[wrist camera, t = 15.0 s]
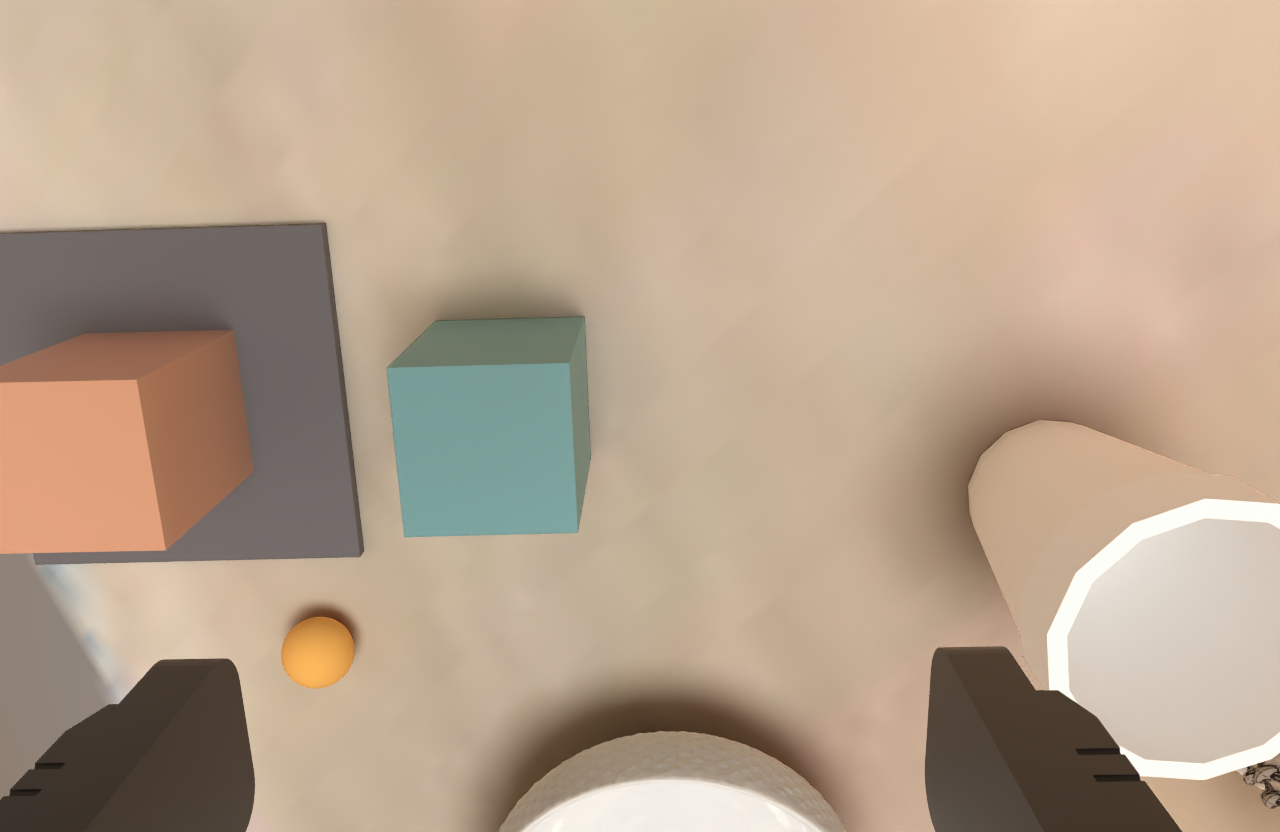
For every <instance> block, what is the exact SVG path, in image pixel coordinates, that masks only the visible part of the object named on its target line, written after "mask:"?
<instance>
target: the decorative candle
mask: <svg viewBox="0 0 1280 832" xmlns="http://www.w3.org/2000/svg"><path fill="white" fill-rule="evenodd" d="M1236 771H1237V772H1238V773H1240V774H1241V775H1242V776H1243V780H1244V782H1245V783H1246V784H1248V785H1256V786H1257V787H1258V788H1260V789H1262V790H1264V791H1263V792H1262V793H1261V795H1260V796H1261V799H1262V801H1263V803H1264V804H1265V806H1267V807H1268V808H1271V809H1273V808H1276V807H1277V806H1280V753H1279V754H1277V755H1276V756H1275V757H1274V758H1272V759H1270V760H1267V761H1264V762H1260V763H1257V764H1254V765H1251V766H1248V767H1244V768H1241V769H1238V770H1236Z"/></svg>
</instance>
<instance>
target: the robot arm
mask: <svg viewBox="0 0 1280 832" xmlns="http://www.w3.org/2000/svg"><path fill="white" fill-rule="evenodd" d="M925 785H926V794H927V801H928V807H929V811H930V816H931V819H932V823H933V826H934V828H935V831H936V832H1182V831H1181V829H1180V828H1179V827H1178V825H1177V824H1176V823H1175V821H1174V820H1173V819H1172V817H1171V816H1170V815H1169V813H1168V812H1167V811H1166V809H1165V808H1164V807H1163V805H1162V804H1161V803H1160V801H1159V800H1158V798H1157V797H1156V796H1155V794H1154V793H1153V792H1152V790H1151V789H1150V788H1149V786H1148V785H1147V784H1146V782H1145V781H1140V774H1139V773H1138V772H1137V770H1136V769H1135V767H1134V766H1133V765H1132V763H1131V762H1130V761H1129V759H1128V758H1127V757H1126V755H1125V754H1121V753H1120V747H1119V746H1118V745H1117V743H1116V742H1115V741H1114V739H1113V738H1112V736H1111V735H1110V734H1109V732H1108V731H1107V730H1106V728H1105V727H1104V726H1103V724H1102V723H1101V722H1100V720H1099V719H1098V718H1097V716H1095V715H1094V714H1092V713H1091V712H1089V711H1088V710H1086V709H1085V708H1083V707H1082V706H1080V705H1079V704H1078V703H1076V702H1075V701H1073V700H1072V699H1070V698H1069V697H1067V696H1066V695H1064V694H1063V693H1061V692H1060V691H1058V690H1037V691H1036V690H1035V689H1034V687H1033V686H1032V684H1031V683H1030V681H1029V680H1028V678H1027V677H1026V675H1025V674H1024V672H1023V671H1022V669H1021V668H1020V666H1019V665H1018V663H1017V662H1016V660H1015V659H1014V657H1013V656H1012V654H1011V653H1010V651H1009V650H1008V649H1007V648H1005V647H1002V646H1000V647H944V648H937V649H936V651H935V653H934V655H933V659H932V666H931V679H930V695H929V710H928V726H927V742H926V757H925ZM254 793H255V777H254V769H253V763H252V756H251V750H250V743H249V737H248V731H247V724H246V718H245V712H244V705H243V699H242V692H241V686H240V680H239V675H238V672H237V669H236V667H235V665H234V664H233V662H232V661H231V660H229V659H173V660H161V661H159V662H157V663H156V664H155V665H154V666H153V667H152V668H151V669H150V670H149V671H148V672H147V673H146V674H145V675H144V677H143V678H142V679H141V680H140V681H139V682H138V683H137V684H136V685H135V687H134V688H133V689H132V690H131V691H130V692H129V693H128V694H127V695H126V697H125V698H124V699H123V700H122V701H121V702H120V703H119V704H109V705H107V706H106V707H104V708H103V709H101V710H99V711H98V712H96V713H94V714H93V715H91V716H90V717H88V718H86V719H85V720H83V721H82V722H80V723H78V724H77V725H75V726H73V727H72V728H70V729H69V730H67V731H65V733H64V734H63V735H62V736H61V737H60V738H59V739H58V740H57V741H56V742H55V743H54V744H53V745H52V746H51V747H50V748H49V749H48V750H47V751H46V752H45V754H43V755H42V757H41V758H40V759H39V760H38V761H37V762H36V763H35V769H34V770H28V771H27V773H25V775H24V776H23V777H22V778H21V779H20V780H19V781H18V782H17V783H16V784H15V785H14V786H13V787H12V788H11V789H10V795H9V796H4V797H3V798H2V799H1V800H0V832H246V829H247V827H248V824H249V821H250V817H251V813H252V809H253V803H254Z"/></svg>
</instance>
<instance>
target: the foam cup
mask: <svg viewBox="0 0 1280 832" xmlns="http://www.w3.org/2000/svg"><path fill="white" fill-rule="evenodd" d="M968 495H969V510H970V517H971V519H972V524H973V526H974V528H975V531H976V533H977V535H978V538H979V540H980V542H981V545H982V547H983V549H984V552H985V554H986V557H987V559H988V561H989V564H990V566H991V568H992V571H993V573H994V575H995V578H996V580H997V582H998V585H999V587H1000V589H1001V592H1002V594H1003V596H1004V599H1005V601H1006V603H1007V606H1008V608H1009V611H1010V613H1011V615H1012V618H1013V620H1014V622H1015V625H1016V627H1017V629H1018V632H1019V634H1020V636H1021V639H1022V657H1023V658H1024V660H1025V661H1026V663H1027V665H1028V666H1029V668H1030V669H1031V671H1032V672H1033V674H1034V675H1035V677H1036V678H1037V680H1038V681H1039V683H1040V685H1041V686H1042V688H1043V689H1044V690H1058V691H1060V692H1061V693H1063V694H1064V695H1066V696H1067V697H1069V698H1070V699H1072V700H1073V701H1075V702H1076V703H1078V704H1079V705H1080V706H1082V707H1083V708H1085V709H1086V710H1088V711H1089V712H1091V713H1092V714H1094V715H1095V716H1097V718H1098V719H1099V720H1100V722H1101V723H1102V724H1103V726H1104V727H1105V728H1106V730H1107V731H1108V732H1109V734H1110V735H1111V736H1112V738H1113V739H1114V741H1115V742H1116V743H1117V745H1118V746H1119V747H1120V753H1121V754H1125V755H1126V757H1127V758H1128V759H1129V761H1130V762H1131V763H1132V765H1133V766H1134V767H1135V769H1136V770H1137V772H1138V773H1139V774H1140V776H1151V777H1165V778H1180V779H1195V780H1206V779H1209V778H1212V777H1216V776H1219V775H1222V774H1225V773H1228V772H1232V771H1235V770H1238V769H1241V768H1244V767H1248V766H1251V765H1254V764H1257V763H1260V762H1264V761H1267V760H1270V759H1272V758H1274V757H1275V756H1276V755H1277V754H1279V753H1280V504H1279V503H1278V502H1276V501H1274V500H1273V499H1271V498H1269V497H1268V496H1266V495H1264V494H1263V493H1261V492H1259V491H1258V490H1256V489H1254V488H1253V487H1251V486H1249V485H1248V484H1246V483H1244V482H1243V481H1241V480H1239V479H1238V478H1236V477H1234V476H1228V475H1214V474H1209V473H1206V472H1204V471H1201V470H1198V469H1196V468H1193V467H1191V466H1188V465H1185V464H1183V463H1180V462H1177V461H1175V460H1172V459H1170V458H1167V457H1164V456H1162V455H1159V454H1156V453H1154V452H1151V451H1149V450H1146V449H1143V448H1141V447H1138V446H1135V445H1133V444H1130V443H1127V442H1125V441H1122V440H1120V439H1117V438H1114V437H1112V436H1109V435H1106V434H1104V433H1101V432H1099V431H1096V430H1093V429H1091V428H1088V427H1085V426H1083V425H1078V424H1075V423H1074V422H1062V421H1048V420H1038V421H1035V422H1032V423H1029V424H1027V425H1024V426H1021V427H1018V428H1015V429H1013V430H1010V431H1007V432H1006V433H1004V434H1003V435H1002V436H1001V437H1000V438H999V439H998V440H997V441H996V442H995V443H994V444H993V445H991V446H990V447H989V448H988V449H987V450H986V451H985V452H984V453H983V454H982V455H981V456H980V458H979V461H978V463H977V465H976V468H975V470H974V473H973V475H972V477H971V480H970V482H969V484H968Z"/></svg>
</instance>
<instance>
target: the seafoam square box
mask: <svg viewBox="0 0 1280 832" xmlns="http://www.w3.org/2000/svg"><path fill="white" fill-rule="evenodd" d="M387 376H388V386H389V395H390V405H391V415H392V424H393V434H394V444H395V453H396V463H397V473H398V482H399V492H400V502H401V511H402V521H403V530H404V537H427V536H469V535H510V534H552V533H578V530H579V524H580V518H581V512H582V506H583V501H584V495H585V489H586V483H587V477H588V472H589V466H590V460H591V449H590V427H589V405H588V384H587V362H586V340H585V318H584V317H553V318H517V319H481V320H445V321H435V322H434V323H433V324H432V325H431V326H430V327H429V328H428V329H427V330H426V331H425V332H424V333H423V334H422V335H421V336H420V337H418V338H417V339H416V340H415V341H414V342H413V343H412V344H411V345H410V346H409V347H408V348H407V349H406V350H405V351H404V352H403V353H402V354H401V355H400V356H399V357H398V358H396V359H395V360H394V361H393V362H392V363H391V364H390V365H389V366H388V367H387Z"/></svg>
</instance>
